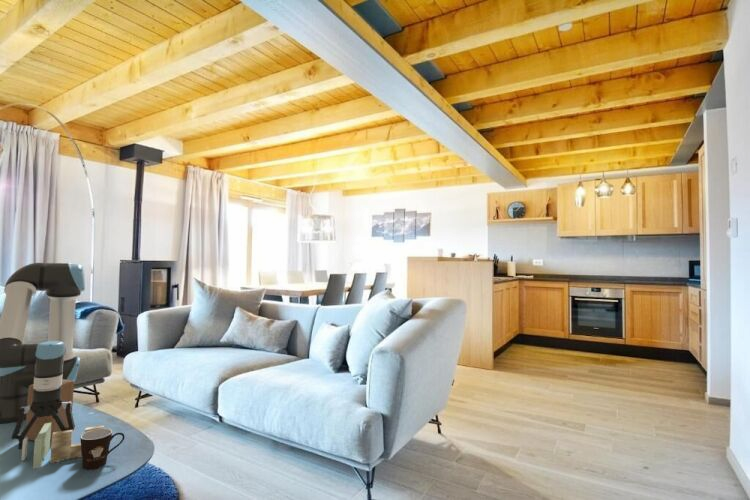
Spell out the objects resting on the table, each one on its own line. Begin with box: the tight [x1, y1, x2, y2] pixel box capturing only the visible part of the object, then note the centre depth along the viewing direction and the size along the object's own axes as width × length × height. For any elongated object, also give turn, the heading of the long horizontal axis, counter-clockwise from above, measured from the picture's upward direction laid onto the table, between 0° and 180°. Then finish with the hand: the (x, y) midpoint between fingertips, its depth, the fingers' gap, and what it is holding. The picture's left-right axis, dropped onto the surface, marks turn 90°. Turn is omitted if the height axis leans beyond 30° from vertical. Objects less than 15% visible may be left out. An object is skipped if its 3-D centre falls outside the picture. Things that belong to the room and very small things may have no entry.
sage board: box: [32, 423, 51, 469], centre depth 132 cm, size 14×2×9 cm, turn 30°
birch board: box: [49, 424, 105, 464], centre depth 134 cm, size 14×4×9 cm, turn 120°
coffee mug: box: [80, 427, 126, 471], centre depth 130 cm, size 12×9×10 cm
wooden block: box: [25, 379, 75, 442], centre depth 148 cm, size 10×10×20 cm
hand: (42, 455), depth 133 cm, fingers open, 9 cm apart
